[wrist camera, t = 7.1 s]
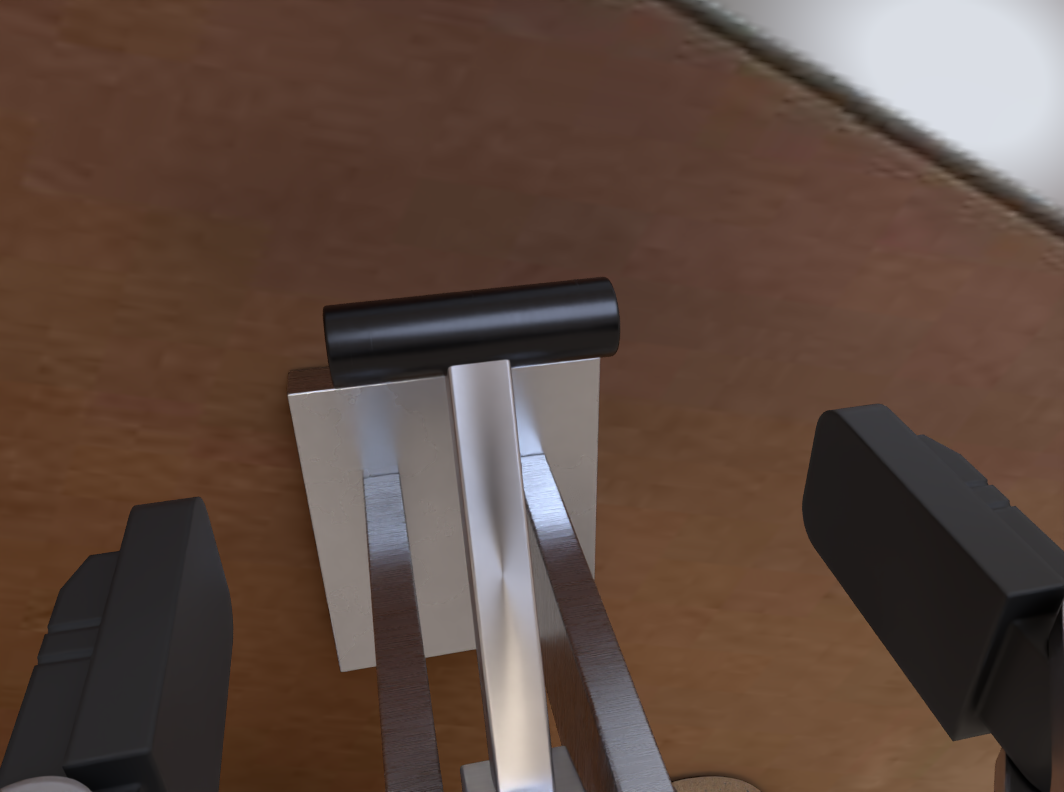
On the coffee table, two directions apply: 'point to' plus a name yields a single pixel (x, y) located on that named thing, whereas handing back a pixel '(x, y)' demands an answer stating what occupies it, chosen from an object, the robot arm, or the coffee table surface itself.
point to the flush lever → (488, 475)
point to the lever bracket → (440, 563)
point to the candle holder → (713, 785)
